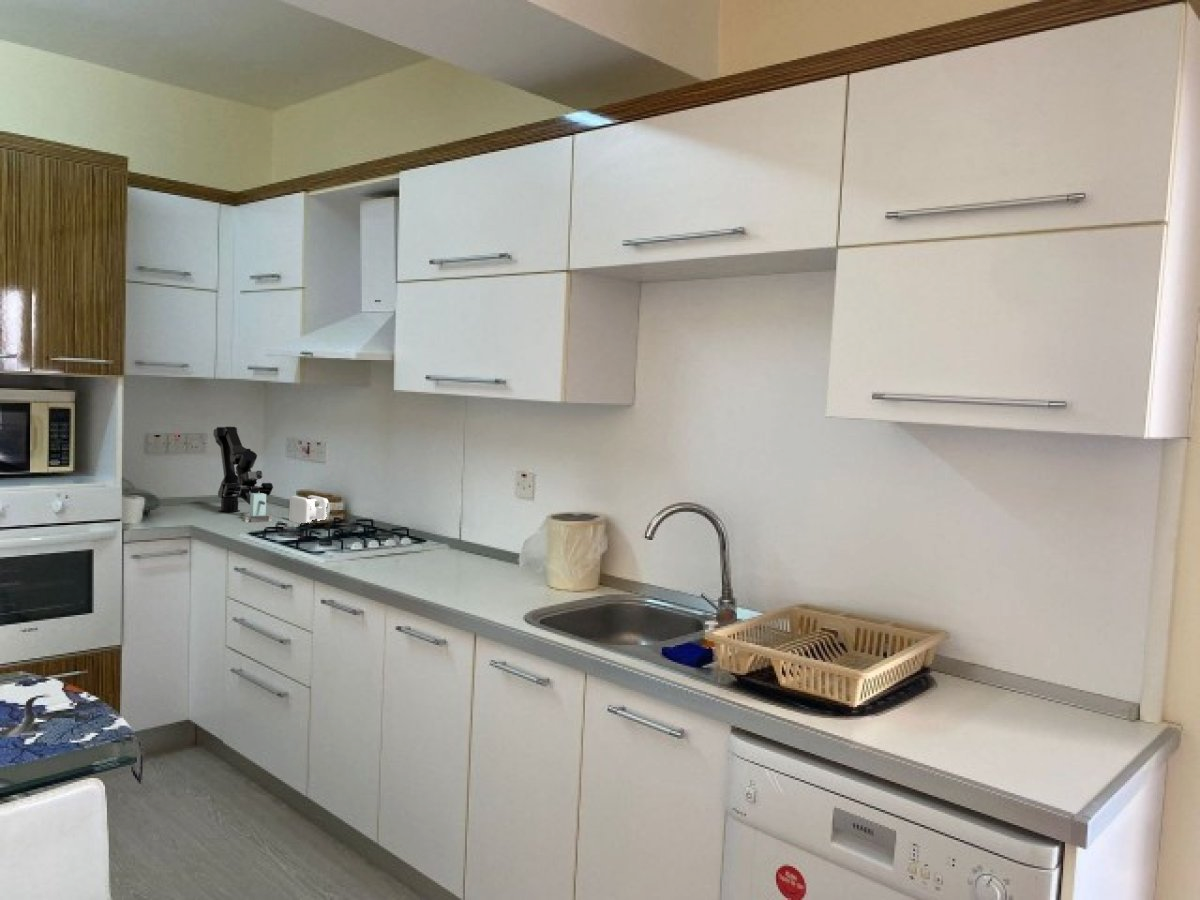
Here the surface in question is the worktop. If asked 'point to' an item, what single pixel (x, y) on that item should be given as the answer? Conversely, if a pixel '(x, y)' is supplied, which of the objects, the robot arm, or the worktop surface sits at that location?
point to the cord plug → (257, 504)
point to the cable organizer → (307, 509)
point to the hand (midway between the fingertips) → (252, 505)
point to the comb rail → (258, 518)
